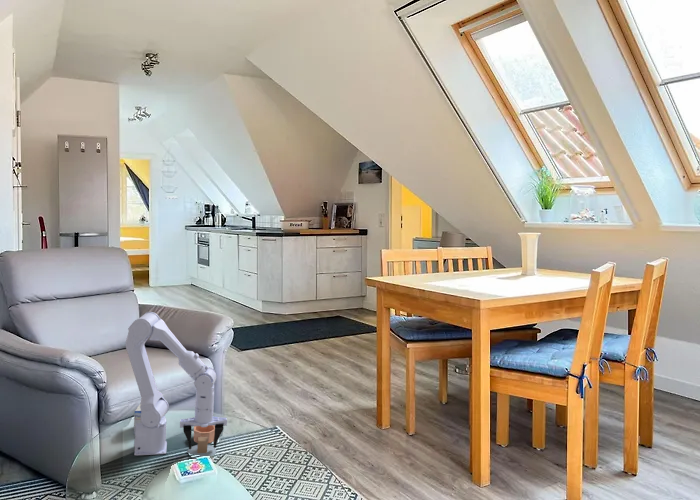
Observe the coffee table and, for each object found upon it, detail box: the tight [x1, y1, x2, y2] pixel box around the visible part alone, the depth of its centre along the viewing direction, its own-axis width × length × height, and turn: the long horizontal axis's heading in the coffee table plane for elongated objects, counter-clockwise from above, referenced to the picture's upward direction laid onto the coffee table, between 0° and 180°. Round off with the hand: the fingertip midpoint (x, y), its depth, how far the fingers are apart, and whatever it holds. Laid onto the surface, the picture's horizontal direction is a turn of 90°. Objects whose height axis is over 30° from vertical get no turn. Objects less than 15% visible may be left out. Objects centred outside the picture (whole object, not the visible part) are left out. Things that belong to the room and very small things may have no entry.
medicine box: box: [133, 402, 141, 436], centre depth 197 cm, size 8×4×9 cm, turn 5°
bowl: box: [193, 425, 215, 444], centre depth 195 cm, size 7×7×4 cm
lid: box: [187, 437, 217, 457], centre depth 186 cm, size 9×9×5 cm
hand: (202, 446), depth 186 cm, fingers open, 7 cm apart
